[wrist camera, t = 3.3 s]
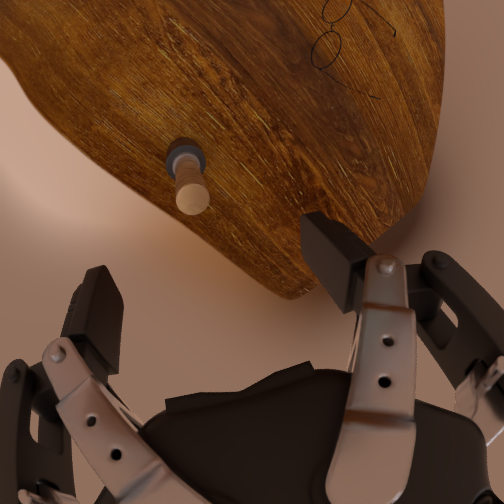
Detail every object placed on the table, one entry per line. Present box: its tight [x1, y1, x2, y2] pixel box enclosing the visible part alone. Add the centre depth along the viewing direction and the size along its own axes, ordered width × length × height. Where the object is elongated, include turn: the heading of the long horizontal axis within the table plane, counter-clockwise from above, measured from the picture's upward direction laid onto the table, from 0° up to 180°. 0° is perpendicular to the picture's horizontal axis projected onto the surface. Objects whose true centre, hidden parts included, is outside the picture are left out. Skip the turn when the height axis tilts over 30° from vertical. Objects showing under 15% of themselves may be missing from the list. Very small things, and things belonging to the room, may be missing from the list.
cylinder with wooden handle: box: [166, 137, 210, 215], centre depth 21 cm, size 4×4×14 cm
